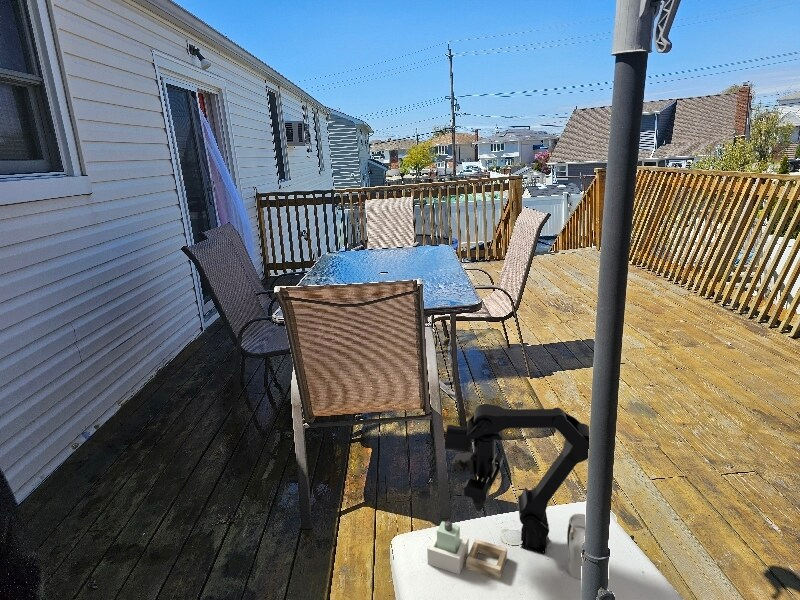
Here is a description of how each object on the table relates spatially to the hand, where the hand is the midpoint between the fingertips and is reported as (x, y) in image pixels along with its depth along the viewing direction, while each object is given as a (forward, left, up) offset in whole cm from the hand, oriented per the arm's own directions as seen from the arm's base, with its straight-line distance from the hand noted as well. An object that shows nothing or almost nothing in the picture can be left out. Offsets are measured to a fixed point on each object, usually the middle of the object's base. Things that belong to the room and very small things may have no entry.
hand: (483, 500), depth 139 cm
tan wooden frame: (-4, +8, -13) cm, 16 cm away
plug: (+6, +10, -11) cm, 17 cm away
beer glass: (-26, +1, -13) cm, 29 cm away
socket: (+6, +10, -13) cm, 18 cm away
